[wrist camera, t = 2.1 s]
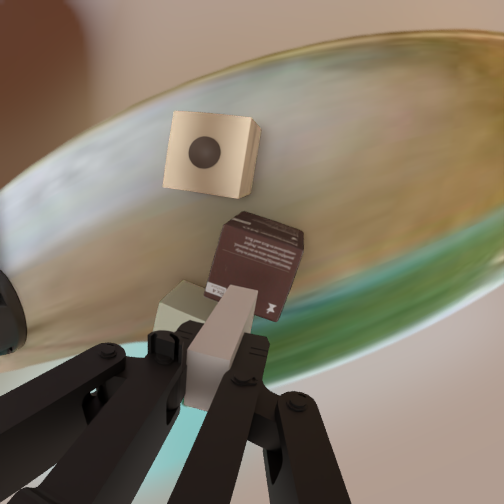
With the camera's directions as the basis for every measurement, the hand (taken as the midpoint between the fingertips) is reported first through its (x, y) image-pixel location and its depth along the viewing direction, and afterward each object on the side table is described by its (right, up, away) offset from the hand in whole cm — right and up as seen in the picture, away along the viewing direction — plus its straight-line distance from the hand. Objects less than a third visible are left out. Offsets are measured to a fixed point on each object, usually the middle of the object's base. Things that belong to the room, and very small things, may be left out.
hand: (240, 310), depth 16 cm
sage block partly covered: (-4, -3, +15) cm, 16 cm away
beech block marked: (-2, +12, +11) cm, 16 cm away
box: (+2, +3, +13) cm, 14 cm away
